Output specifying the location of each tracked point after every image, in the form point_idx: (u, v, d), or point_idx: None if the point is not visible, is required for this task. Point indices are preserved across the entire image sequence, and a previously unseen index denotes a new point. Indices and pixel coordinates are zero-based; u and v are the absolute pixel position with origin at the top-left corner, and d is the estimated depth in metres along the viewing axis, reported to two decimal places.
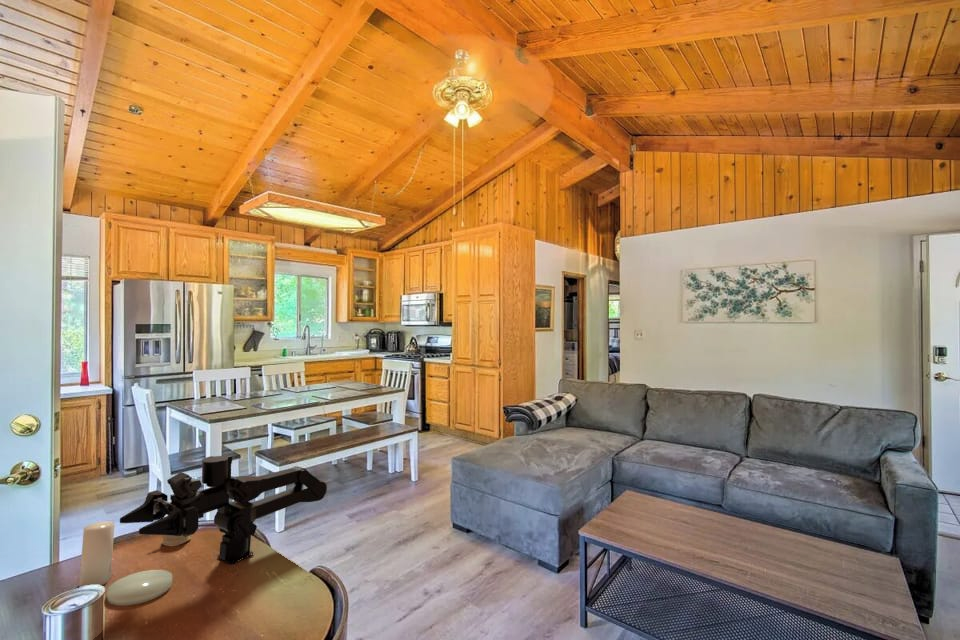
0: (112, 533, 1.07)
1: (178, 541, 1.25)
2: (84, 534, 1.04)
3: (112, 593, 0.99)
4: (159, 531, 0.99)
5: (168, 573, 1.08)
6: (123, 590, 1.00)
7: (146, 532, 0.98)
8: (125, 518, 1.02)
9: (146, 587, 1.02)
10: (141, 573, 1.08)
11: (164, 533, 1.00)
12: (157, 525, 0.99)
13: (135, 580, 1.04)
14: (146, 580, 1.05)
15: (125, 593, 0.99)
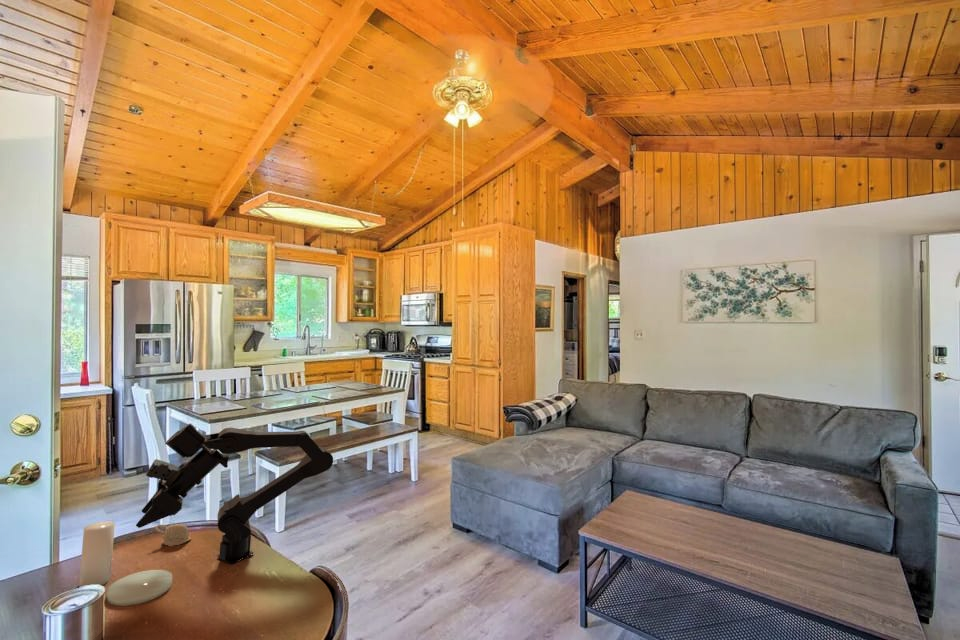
0: (112, 533, 1.07)
1: (178, 541, 1.25)
2: (84, 534, 1.04)
3: (112, 593, 0.99)
4: (153, 519, 1.07)
5: (168, 573, 1.08)
6: (123, 590, 1.00)
7: (143, 524, 1.06)
8: (145, 508, 1.14)
9: (146, 587, 1.02)
10: (141, 573, 1.08)
11: (159, 518, 1.07)
12: (147, 516, 1.06)
13: (135, 580, 1.04)
14: (146, 580, 1.05)
15: (125, 593, 0.99)
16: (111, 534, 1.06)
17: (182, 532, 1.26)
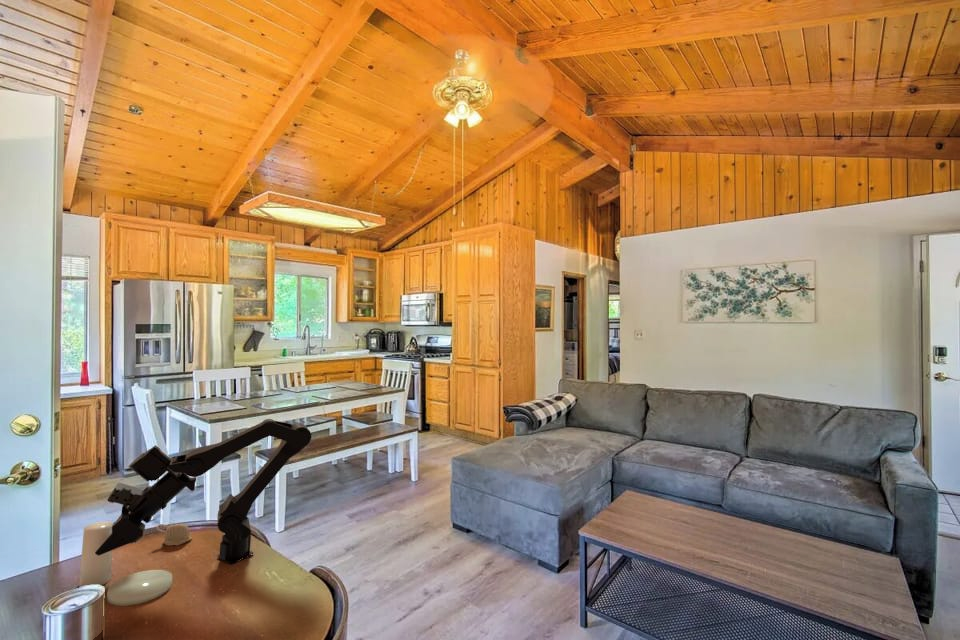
0: None
1: (179, 541, 1.25)
2: (84, 534, 1.04)
3: (112, 593, 0.99)
4: (113, 546, 1.03)
5: (168, 573, 1.08)
6: (123, 590, 1.00)
7: (102, 552, 1.02)
8: None
9: (146, 587, 1.02)
10: (141, 573, 1.08)
11: (119, 545, 1.03)
12: (106, 543, 1.02)
13: (135, 580, 1.04)
14: (146, 580, 1.05)
15: (125, 593, 0.99)
16: None
17: (183, 531, 1.26)
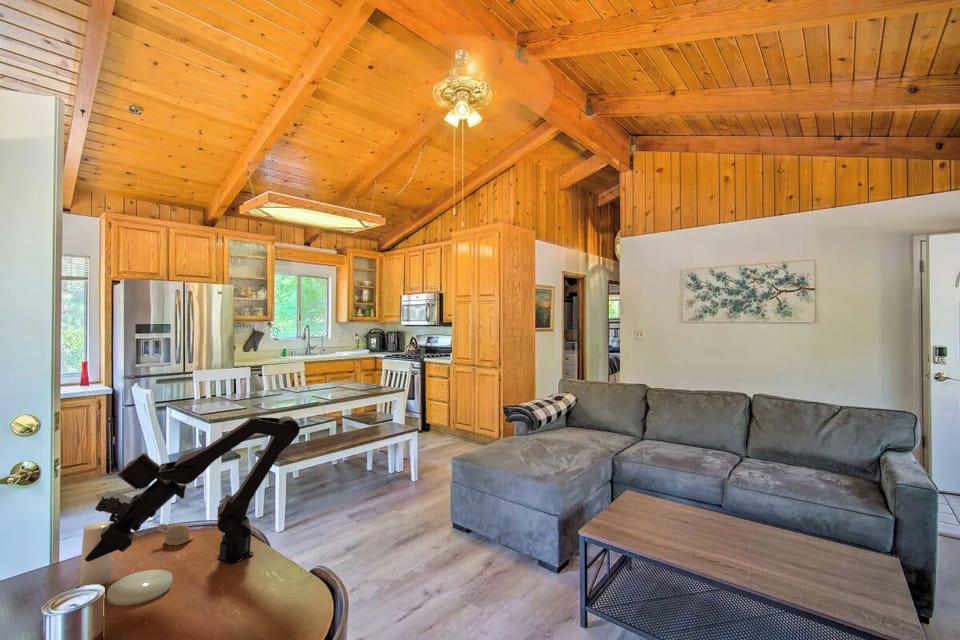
0: None
1: (180, 540, 1.26)
2: (84, 534, 1.04)
3: (112, 593, 0.99)
4: (102, 552, 1.03)
5: (168, 573, 1.08)
6: (123, 590, 1.00)
7: (92, 558, 1.03)
8: None
9: (146, 587, 1.02)
10: (141, 573, 1.08)
11: (109, 551, 1.03)
12: (96, 550, 1.03)
13: (135, 580, 1.04)
14: (146, 580, 1.05)
15: (125, 593, 0.99)
16: None
17: (184, 531, 1.26)
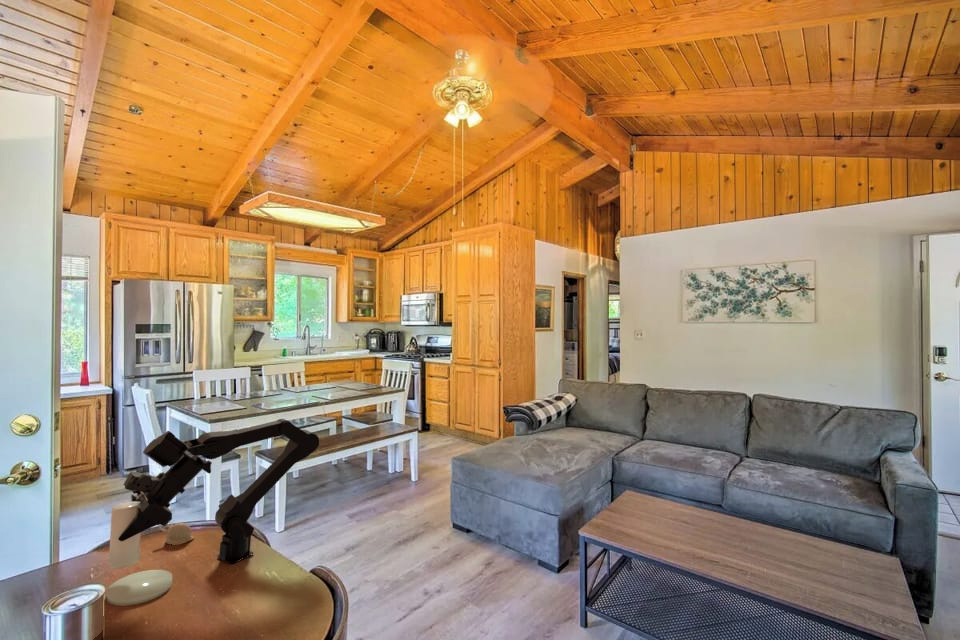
0: None
1: (181, 540, 1.26)
2: (114, 514, 1.01)
3: (112, 593, 0.99)
4: (137, 530, 1.02)
5: (168, 573, 1.08)
6: (123, 590, 1.00)
7: (126, 537, 1.01)
8: None
9: (146, 587, 1.02)
10: (141, 573, 1.08)
11: (144, 529, 1.03)
12: (131, 528, 1.01)
13: (135, 580, 1.04)
14: (146, 580, 1.05)
15: (125, 593, 0.99)
16: None
17: (185, 531, 1.26)
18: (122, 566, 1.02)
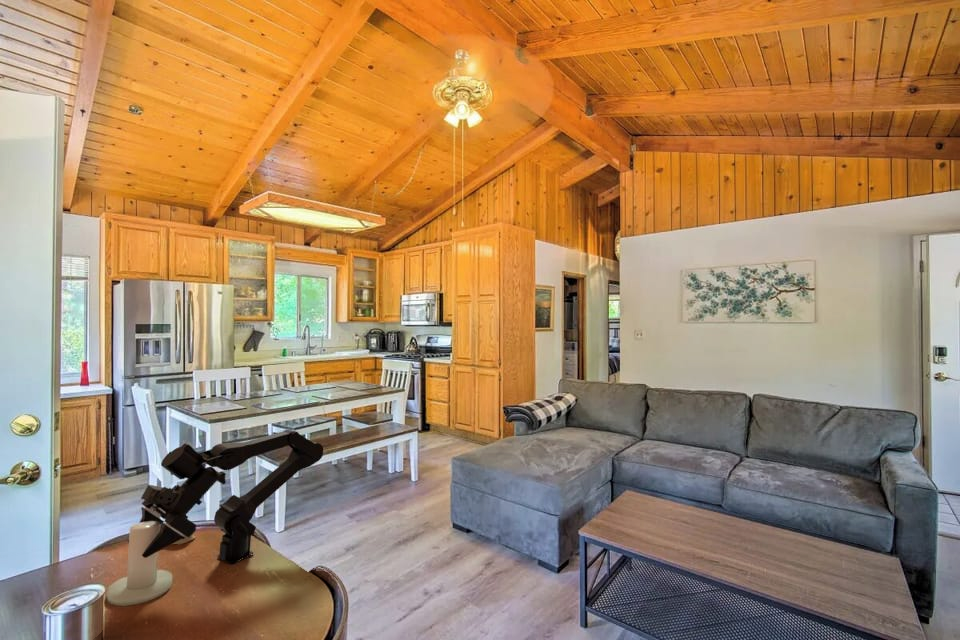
0: None
1: (182, 540, 1.26)
2: (134, 535, 1.01)
3: (112, 593, 0.99)
4: (162, 546, 1.02)
5: (168, 573, 1.08)
6: (123, 590, 1.00)
7: (150, 553, 1.00)
8: None
9: (146, 587, 1.02)
10: None
11: (168, 544, 1.02)
12: (155, 544, 1.01)
13: None
14: None
15: (125, 593, 0.99)
16: None
17: None
18: (143, 586, 1.01)
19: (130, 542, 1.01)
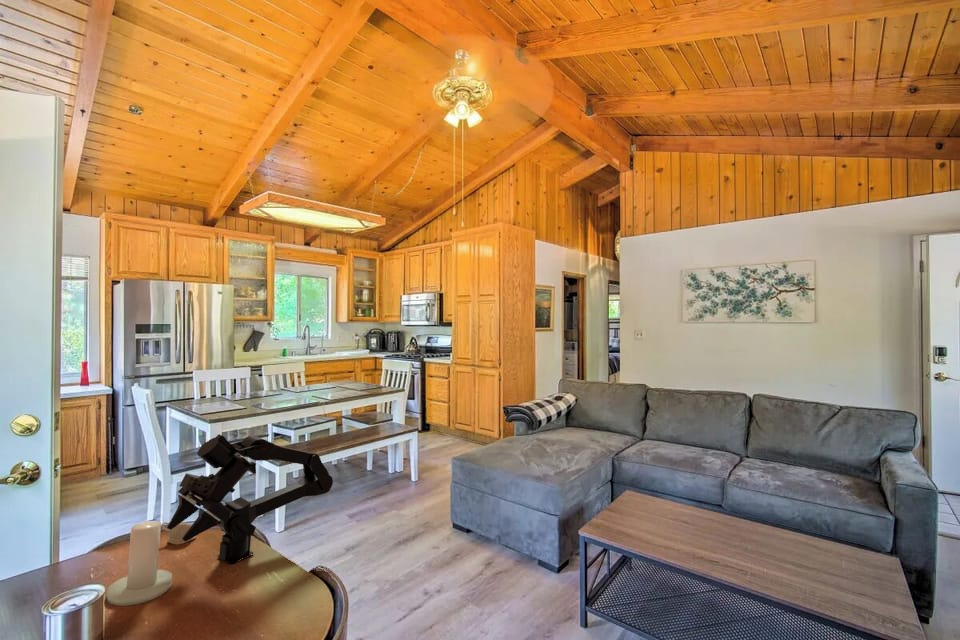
0: None
1: None
2: (135, 535, 1.01)
3: (112, 593, 0.99)
4: (200, 530, 1.08)
5: (168, 573, 1.08)
6: (123, 590, 1.00)
7: (190, 537, 1.07)
8: (171, 524, 1.12)
9: (146, 587, 1.02)
10: None
11: (206, 528, 1.09)
12: (194, 528, 1.07)
13: None
14: None
15: (125, 593, 0.99)
16: None
17: (187, 530, 1.27)
18: (143, 586, 1.01)
19: (131, 542, 1.01)
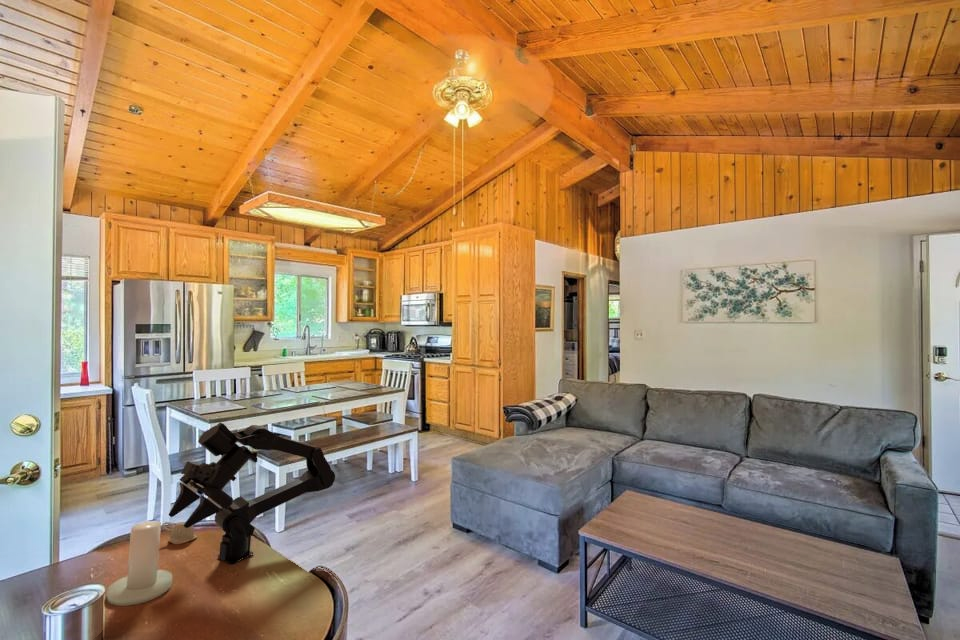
0: None
1: (184, 539, 1.26)
2: (135, 535, 1.01)
3: (112, 593, 0.99)
4: (201, 517, 1.08)
5: (168, 573, 1.08)
6: (123, 590, 1.00)
7: (191, 524, 1.07)
8: (173, 512, 1.12)
9: (146, 587, 1.02)
10: None
11: (207, 516, 1.09)
12: (196, 515, 1.07)
13: None
14: None
15: (125, 593, 0.99)
16: None
17: (187, 530, 1.27)
18: (143, 586, 1.01)
19: (131, 542, 1.01)
